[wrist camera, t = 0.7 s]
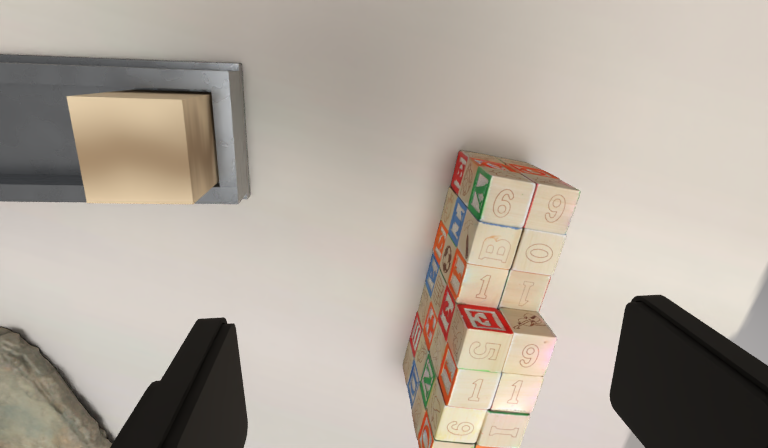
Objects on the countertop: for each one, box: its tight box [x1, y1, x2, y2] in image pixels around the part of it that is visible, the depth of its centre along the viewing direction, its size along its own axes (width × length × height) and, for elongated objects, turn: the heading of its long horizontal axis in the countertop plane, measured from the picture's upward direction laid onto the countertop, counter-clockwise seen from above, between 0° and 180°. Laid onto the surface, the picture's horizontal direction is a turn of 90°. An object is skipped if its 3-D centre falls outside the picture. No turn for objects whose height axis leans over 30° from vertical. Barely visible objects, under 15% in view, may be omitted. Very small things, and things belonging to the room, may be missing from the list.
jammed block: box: [66, 90, 219, 204], centre depth 29 cm, size 6×6×8 cm
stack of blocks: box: [403, 151, 580, 448], centre depth 34 cm, size 21×6×12 cm, turn 169°
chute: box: [0, 54, 250, 204], centre depth 31 cm, size 10×26×4 cm, turn 88°
